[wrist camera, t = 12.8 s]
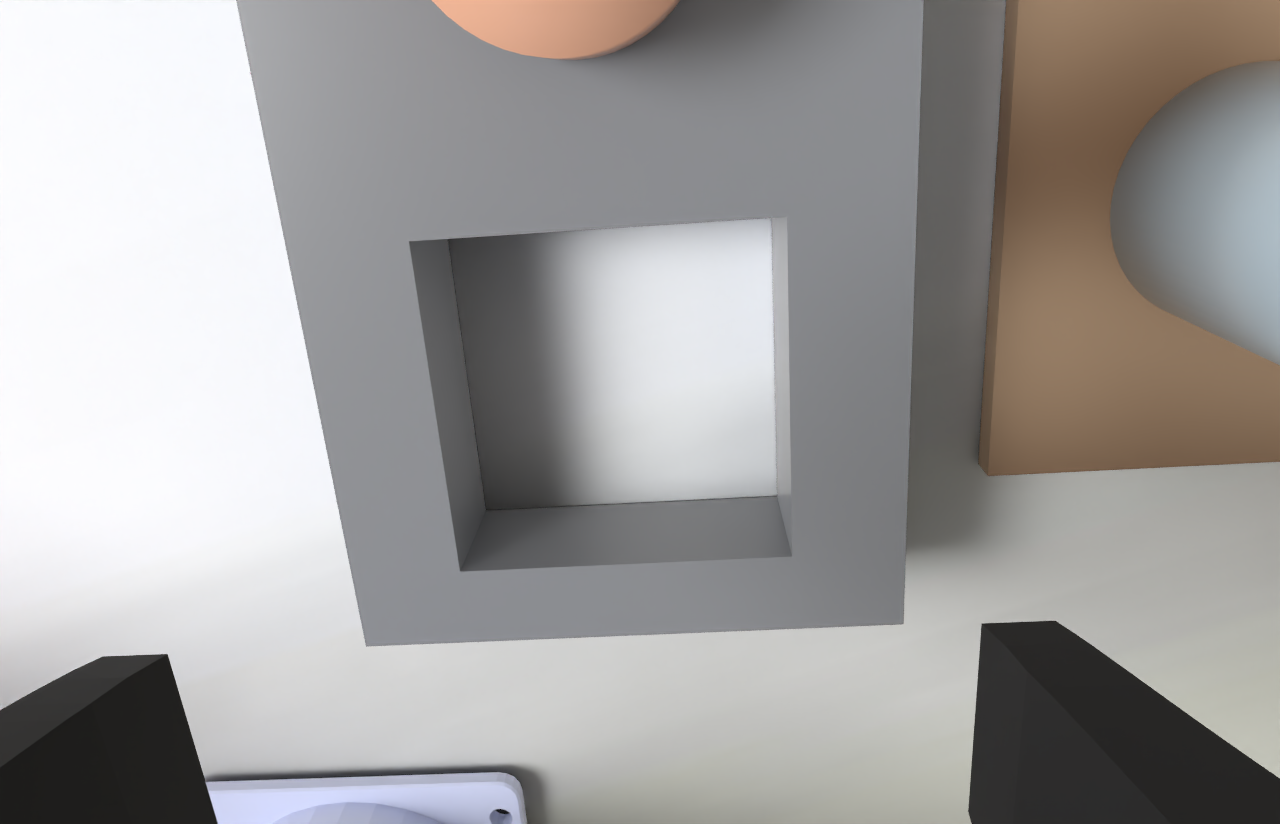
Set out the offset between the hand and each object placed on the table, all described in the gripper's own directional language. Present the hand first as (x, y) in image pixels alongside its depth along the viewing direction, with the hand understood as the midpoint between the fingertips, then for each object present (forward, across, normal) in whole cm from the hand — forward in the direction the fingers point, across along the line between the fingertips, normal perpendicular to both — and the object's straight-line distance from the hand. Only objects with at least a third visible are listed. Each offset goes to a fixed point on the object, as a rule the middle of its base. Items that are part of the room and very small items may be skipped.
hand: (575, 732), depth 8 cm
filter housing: (+10, 0, -4) cm, 11 cm away
